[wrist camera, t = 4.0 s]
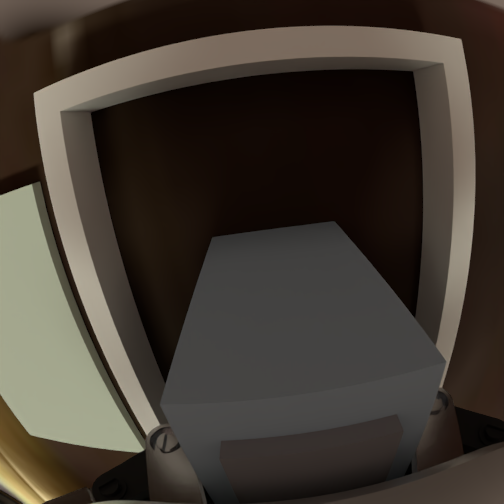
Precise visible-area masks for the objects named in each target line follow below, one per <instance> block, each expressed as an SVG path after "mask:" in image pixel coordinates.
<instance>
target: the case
mask: <svg viewBox="0 0 504 504" xmlns="http://www.w3.org/2000/svg"><path fill="white" fill-rule="evenodd" d="M339 69H373V70H399V71H413V74H414V80H415V87H416V95H417V103H418V112H419V122H420V133H421V148H422V167H423V233H422V254H421V268H420V280H419V290H418V299H417V308H416V316H415V319H416V321H417V322H418V323H419V325H420V326H421V327H422V329H423V330H424V331H425V333H426V334H427V335H428V337H429V338H430V339H431V341H432V342H433V343H434V345H435V346H436V348H437V349H438V350H439V352H440V353H441V355H442V356H443V357H444V359H445V360H446V366H445V369H444V373H443V376H442V379H441V383H440V386H439V387H440V388H442V386H443V382H444V379H445V376H446V373H447V369H448V366H449V362H450V358H451V355H452V351H453V347H454V343H455V339H456V335H457V331H458V326H459V322H460V317H461V312H462V307H463V302H464V296H465V290H466V284H467V278H468V271H469V263H470V255H471V246H472V236H473V223H474V207H475V142H474V126H473V114H472V104H471V95H470V87H469V80H468V73H467V67H466V62H465V56H464V51H463V46H462V41H461V39H458V38H453V37H448V36H442V35H437V34H430V33H424V32H417V31H409V30H400V29H390V28H378V27H361V26H300V27H282V28H270V29H260V30H251V31H242V32H235V33H228V34H222V35H216V36H210V37H204V38H199V39H194V40H189V41H184V42H180V43H175V44H171V45H167V46H163V47H159V48H155V49H151V50H148V51H144V52H140V53H137V54H134V55H130V56H127V57H124V58H121V59H117V60H114V61H111V62H108V63H106V64H103V65H100V66H97V67H94V68H92V69H89V70H86V71H84V72H81V73H78V74H76V75H73V76H71V77H69V78H66V79H64V80H61V81H59V82H57V83H54V84H52V85H50V86H48V87H46V88H43V89H41V90H39V91H37V92H35V93H34V102H35V111H36V120H37V127H38V134H39V141H40V147H41V153H42V159H43V164H44V169H45V175H46V179H47V184H48V189H49V193H50V197H51V202H52V206H53V210H54V214H55V218H56V221H57V225H58V229H59V232H60V236H61V239H62V243H63V246H64V249H65V253H66V256H67V259H68V262H69V265H70V268H71V271H72V274H73V277H74V280H75V283H76V286H77V289H78V291H79V294H80V297H81V299H82V302H83V305H84V307H85V310H86V312H87V315H88V318H89V320H90V322H91V325H92V327H93V330H94V332H95V334H96V337H97V339H98V341H99V344H100V346H101V348H102V350H103V353H104V355H105V357H106V359H107V361H108V363H109V366H110V368H111V370H112V372H113V374H114V376H115V378H116V380H117V382H118V384H119V386H120V388H121V390H122V392H123V394H124V396H125V397H126V399H127V401H128V403H129V405H130V407H131V409H132V410H133V412H134V414H135V416H136V418H137V419H138V421H139V423H140V425H141V426H142V428H143V430H144V431H145V433H146V435H148V433H149V432H150V431H151V430H152V429H154V428H155V427H157V426H159V425H162V424H167V423H169V422H168V420H167V418H166V416H165V414H164V412H163V410H162V408H161V406H160V402H161V398H162V395H163V391H164V388H165V382H164V380H163V377H162V375H161V372H160V370H159V367H158V365H157V362H156V360H155V357H154V354H153V352H152V349H151V346H150V344H149V341H148V338H147V336H146V333H145V330H144V327H143V324H142V322H141V319H140V316H139V313H138V310H137V307H136V304H135V301H134V298H133V295H132V291H131V288H130V285H129V282H128V279H127V275H126V272H125V268H124V265H123V262H122V258H121V255H120V251H119V247H118V244H117V240H116V236H115V232H114V228H113V224H112V220H111V216H110V212H109V208H108V204H107V199H106V195H105V190H104V186H103V181H102V176H101V171H100V166H99V161H98V155H97V150H96V144H95V138H94V132H93V126H92V119H91V112H94V111H97V110H100V109H103V108H106V107H110V106H113V105H116V104H120V103H123V102H126V101H130V100H134V99H137V98H141V97H145V96H149V95H153V94H157V93H161V92H165V91H169V90H174V89H178V88H183V87H188V86H193V85H198V84H203V83H209V82H215V81H221V80H227V79H233V78H240V77H248V76H256V75H264V74H274V73H284V72H297V71H312V70H339Z"/></svg>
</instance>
